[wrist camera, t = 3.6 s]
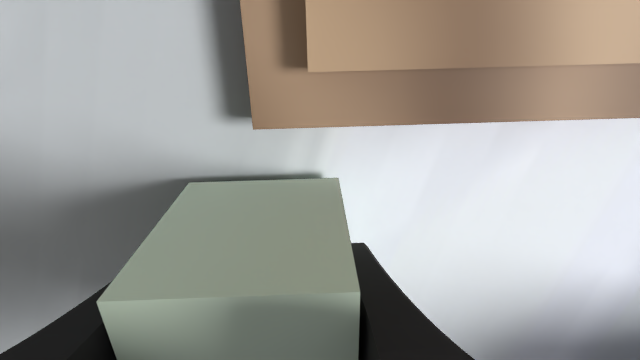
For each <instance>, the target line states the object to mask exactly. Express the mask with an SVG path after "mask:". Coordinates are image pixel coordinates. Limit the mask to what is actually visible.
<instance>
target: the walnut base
mask: <svg viewBox="0 0 640 360" xmlns="http://www.w3.org/2000/svg"><path fill="white" fill-rule="evenodd" d="M240 6H241V16H242V26H243V36H244V46H245V55H246V65H247V75H248V85H249V95H250V104H251V114H252V124H253V129H284V128H317V127H350V126H384V125H417V124H450V123H483V122H517V121H550V120H583V119H617V118H640V0H240Z"/></svg>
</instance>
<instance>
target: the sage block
mask: <svg viewBox="0 0 640 360" xmlns="http://www.w3.org/2000/svg"><path fill="white" fill-rule="evenodd" d="M97 305H98V308H99V311H100V314H101V316H102V319H103V322H104V325H105V328H106V330H107V333H108V336H109V339H110V342H111V344H112V347H113V350H114V353H115V355H116V358H117V360H358V353H359V319H360V288H359V283H358V277H357V272H356V267H355V262H354V257H353V251H352V246H351V241H350V236H349V231H348V225H347V220H346V215H345V210H344V205H343V199H342V194H341V189H340V184H339V179H338V178H316V179H285V180H254V181H223V182H191V183H188V185H187V186H186V187H185V188H184V190H183V191H182V192H181V194H180V195H179V196H178V197H177V199H176V200H175V201H174V203H173V204H172V205H171V206H170V208H169V209H168V210H167V212H166V213H165V214H164V215H163V217H162V218H161V219H160V221H159V222H158V223H157V224H156V226H155V227H154V228H153V230H152V231H151V232H150V233H149V235H148V236H147V237H146V239H145V240H144V241H143V242H142V244H141V245H140V246H139V248H138V249H137V250H136V251H135V253H134V254H133V255H132V257H131V258H130V259H129V260H128V262H127V263H126V264H125V266H124V267H123V268H122V269H121V271H120V272H119V273H118V275H117V276H116V277H115V278H114V280H113V281H112V282H111V284H110V285H109V286H108V287H107V289H106V290H105V291H104V293H103V294H102V295H101V296H100V298H99V299H98V300H97Z"/></svg>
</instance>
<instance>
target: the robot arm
mask: <svg viewBox="0 0 640 360" xmlns="http://www.w3.org/2000/svg"><path fill="white" fill-rule="evenodd" d="M351 246H352V251H353V257H354V262H355V267H356V272H357V277H358V283H359V288H360V319H359V353H358V360H474V359H473V358H472V357H471V356H469V355H468V354H467V353H466V352H465V351H463V350H462V349H461V348H460V347H458V346H457V345H456V344H455V343H454V342H453V341H452V340H451V339H449V338H448V337H447V336H446V335H445V334H444V333H443V332H442V331H440V330H439V329H438V328H437V327H436V326H435V325H434V324H433V323H432V322H431V321H430V320H429V319H428V318H427V317H426V316H425V315H424V314H423V313H422V312H421V311H420V310H419V309H418V308H417V307H416V306H415V305H414V304H413V303H412V302H411V300H410V299H409V298H408V297H407V296H406V295H405V294H404V293H403V292H402V290H401V289H400V288H399V287H398V286H397V285H396V283H395V282H394V281H393V280H392V279H391V278H390V276H389V275H388V274H387V273H386V271H385V270H384V269H383V267H382V266H381V265H380V264H379V262H378V261H377V259H376V258H375V257H374V255H373V254H372V252H371V251H370V250H369V248H368V246H366V245H365V244H364V243H351ZM110 284H111V282H110V283H109V284H108V285H106V286H105V287H104V288H102V289H101V290H99V291H98V292H97V293H95V294H94V295H92V296H91V297H90V298H88V299H87V300H85V301H84V302H82V303H81V304H79V305H78V306H76V307H75V308H73V309H72V310H70V311H69V312H67V313H66V314H64V315H63V316H61V317H60V318H58V319H57V320H55V321H54V322H52V323H51V324H49V325H48V326H46V327H45V328H43V329H41V330H40V331H38V332H37V333H35V334H34V335H32V336H30V337H29V338H27V339H25V340H24V341H22V342H20V343H19V344H17V345H15V346H14V347H12V348H10V349H8V350H7V351H5V352H3V353H1V354H0V360H117V358H116V355H115V353H114V350H113V347H112V344H111V342H110V339H109V336H108V333H107V330H106V328H105V325H104V322H103V319H102V316H101V314H100V311H99V308H98V305H97V300H98V299H99V298H100V296H101V295H102V294H103V293H104V291H105V290H106V289H107V287H108V286H109V285H110Z"/></svg>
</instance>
